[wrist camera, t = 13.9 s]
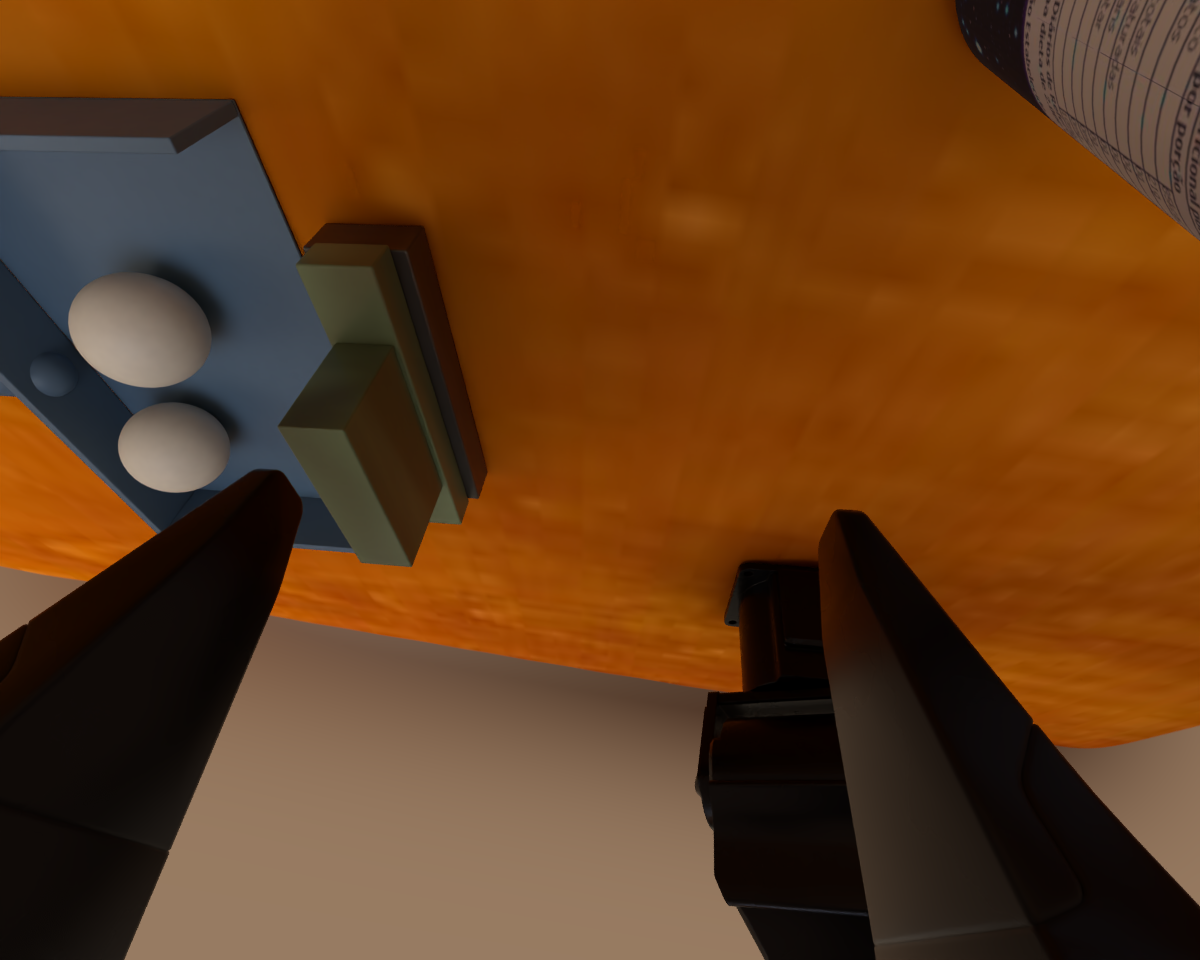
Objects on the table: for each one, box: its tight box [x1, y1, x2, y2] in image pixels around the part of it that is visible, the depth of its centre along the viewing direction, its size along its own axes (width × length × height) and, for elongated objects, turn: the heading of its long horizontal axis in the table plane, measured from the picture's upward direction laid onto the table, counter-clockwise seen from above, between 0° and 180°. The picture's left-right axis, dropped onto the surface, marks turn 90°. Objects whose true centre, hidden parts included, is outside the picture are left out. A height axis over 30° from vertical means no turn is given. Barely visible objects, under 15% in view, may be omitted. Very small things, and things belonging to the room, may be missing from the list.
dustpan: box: [0, 97, 355, 553], centre depth 23 cm, size 22×19×3 cm
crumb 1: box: [68, 272, 212, 388], centre depth 20 cm, size 4×4×4 cm
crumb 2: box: [118, 402, 230, 493], centre depth 25 cm, size 4×4×4 cm
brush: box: [277, 224, 487, 567], centre depth 21 cm, size 3×12×7 cm, turn 1°
